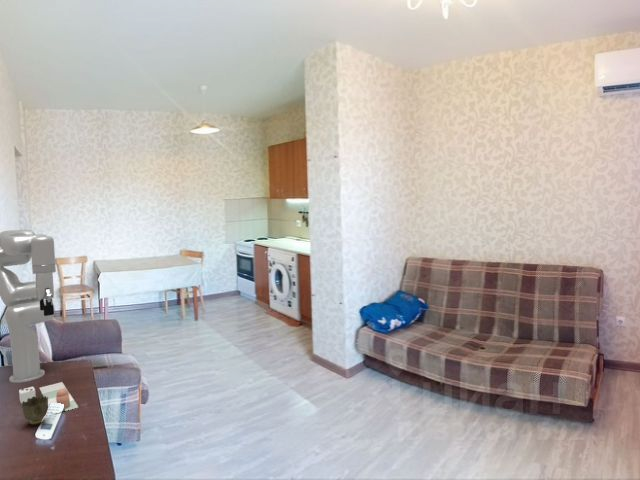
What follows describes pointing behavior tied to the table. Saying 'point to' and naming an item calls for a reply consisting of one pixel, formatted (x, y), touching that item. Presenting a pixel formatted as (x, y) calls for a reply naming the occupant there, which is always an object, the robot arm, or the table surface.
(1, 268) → the robot arm
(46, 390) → the board
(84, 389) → the table surface
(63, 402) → the pawn
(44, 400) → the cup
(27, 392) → the die
